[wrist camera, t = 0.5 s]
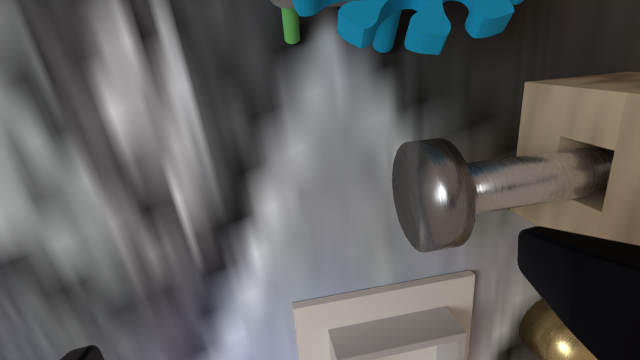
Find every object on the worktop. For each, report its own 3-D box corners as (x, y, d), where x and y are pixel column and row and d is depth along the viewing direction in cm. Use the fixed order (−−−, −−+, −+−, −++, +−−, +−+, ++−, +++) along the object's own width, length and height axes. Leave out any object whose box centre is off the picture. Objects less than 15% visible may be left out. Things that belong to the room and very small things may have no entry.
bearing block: (629, 71, 22) (824, 81, 15) (603, 195, 25) (757, 256, 17) (524, 82, 21) (679, 98, 14) (509, 210, 24) (631, 282, 16)
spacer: (582, 288, 27) (636, 324, 24) (571, 341, 29) (620, 383, 25) (523, 300, 27) (568, 340, 23) (515, 354, 28) (556, 399, 25)
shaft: (604, 107, 20) (712, 123, 16) (588, 192, 22) (681, 229, 17) (392, 131, 18) (443, 159, 14) (392, 222, 20) (437, 274, 15)
